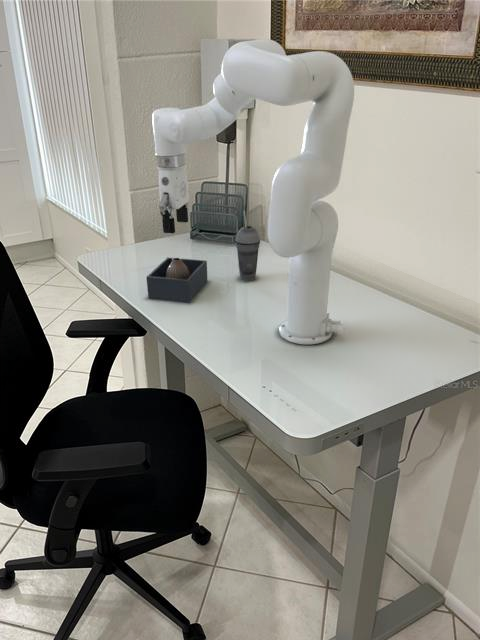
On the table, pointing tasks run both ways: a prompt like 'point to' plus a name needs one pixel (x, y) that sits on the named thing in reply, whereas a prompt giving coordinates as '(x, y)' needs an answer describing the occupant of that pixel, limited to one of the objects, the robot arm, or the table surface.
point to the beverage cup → (247, 251)
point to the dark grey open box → (177, 282)
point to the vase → (177, 270)
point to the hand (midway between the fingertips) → (176, 227)
